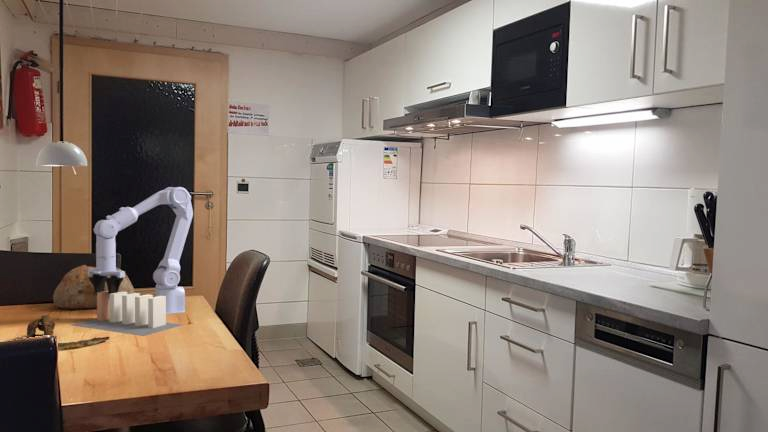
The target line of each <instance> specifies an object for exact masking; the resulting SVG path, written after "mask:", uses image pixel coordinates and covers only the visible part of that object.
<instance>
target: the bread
mask: <svg viewBox="0 0 768 432" xmlns="http://www.w3.org/2000/svg"><path fill="white" fill-rule="evenodd" d="M88 269H96V266H87V264H82V265H79V266H77V267H74V268H72V269H71V270H70V271H68V272H67V273H65V275H64V276H63V278H62V279H61V281H60V283H58V284H57V287H56V288H55V290H54V291H53V296H52V299H53V300H52V301H53V304H54V305H55V306H56V307H57V308H60V309H62V308H63V310H90V309H91V310H92V309H97V296H96V293H95V289H94V287H93V285H92V283H91V281H90V280H89V277H92V276H93V275H88ZM116 270H120V271H123V270H122V269H120V268H118V267H117V266H116ZM107 278H110V276H107ZM104 291H108V286H107V283H106V282H105V290H104ZM118 292H127V294H132V293H135V289H134V286H133V284H132V282H131V280H130V279H129V277H128V275H127V273H125V277H123V281H122V282H121V284H120V286H119V289H118Z"/></svg>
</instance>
